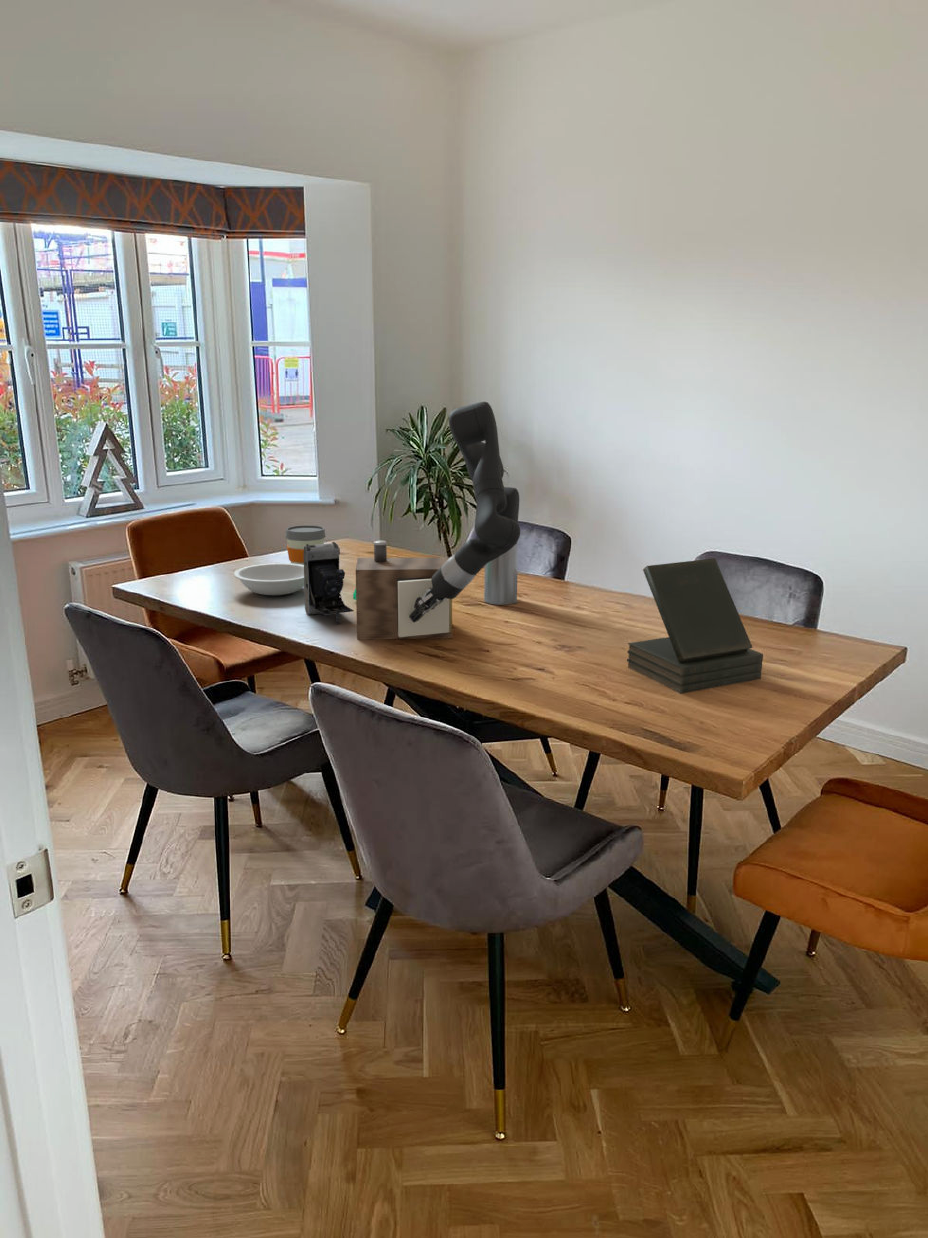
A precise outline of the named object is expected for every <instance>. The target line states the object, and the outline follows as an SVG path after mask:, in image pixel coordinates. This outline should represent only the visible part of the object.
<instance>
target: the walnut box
mask: <svg viewBox="0 0 928 1238" xmlns="http://www.w3.org/2000/svg"><path fill="white" fill-rule="evenodd" d="M449 558H450V556H442V557H441V556H439V557H438V556H435V557H434V556H430V557H429V556H427V557H426V556H425V557H423V556H421V557H419V556H418V557H410V556H409V557H407V556H406V557H387V561H386V562H375V561H374V557H357V560H356V561H357V562H356V565H355V589H356V600H355V601H356V606H355V607H356V639H357V640H404V639H406V640H407V639H411V640H413V639H415V640H416V639H417V640H418V639H422V640H423V639H453V631H452V632H448V633H438V634H427V635H417V636H407V637H399V636H398V581H407V580H420V579H432V576H433V575H434V574H435V573H436V572H437V571H438V570H439V569H440V568H441V566H442V565H443V564H444V563H445V562H446V561H447V560H448V559H449Z"/></svg>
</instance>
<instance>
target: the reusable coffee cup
mask: <svg viewBox="0 0 928 1238" xmlns="http://www.w3.org/2000/svg"><path fill="white" fill-rule="evenodd" d="M325 538H326V532H325V527H324V526H320V525H311V524H310V525H307V524H303V525H302V524H300V525H293V526H289V527H288V526H287V527H286V529H285V539H286V542H287V545H286V548H287V549H286V550H287V555H288V561H289V562H290V563H292V564H301V565H304V556H303V554H304V546H306V544H308V545H319V544H325Z"/></svg>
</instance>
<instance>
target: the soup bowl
mask: <svg viewBox="0 0 928 1238" xmlns="http://www.w3.org/2000/svg"><path fill="white" fill-rule="evenodd" d="M233 577H234V578H235V579H238V580H240V582H241V583H242V585H243V586H244V587H245V588H247V589H248V590H249V591H251V592H253V593H255V594H259V595H264V596H283V595H288V594H292V593H295V592H297V591H300V590H302V588H304V565H301V564H292V563H291V562H290V563H287V562H286V563H285V562H273V563H272V562H271V563H261V564H254V565H248V566H244V567H241V568H238V569H237V570H235V571H234V572H233Z"/></svg>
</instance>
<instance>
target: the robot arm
mask: <svg viewBox="0 0 928 1238" xmlns="http://www.w3.org/2000/svg"><path fill="white" fill-rule="evenodd" d="M448 425H449V430H450V433H451V435H452V438H453V439H454V442H455V444H456V445H457V448H458V449H459V451H460V454H461V455H462V457H463V460H464V463H465V467H466V470H467V473H468V475H469V478H470V480H471V481H472V487H473V492H474V496H475V502H476V509H475V519H474V532H475V534H476V537H477V538H471V539H469V540H467V541H465V543H464V544H463V545H462V546H461V547H459V549H458V550H457V551H456V552H455V553H454V554H453V555H451V556H449V559H448V560H447V561H446V562H445V563H444V564H443V565H442V566H441V568H440V569H439V570H438V571H437V572H436V573H435V574H434V575H433V576H432V579H431V582H432V588H431V587H430V588H429V589H428V590H427V591H426V593H425V595H424V596H423V597H422V598H421V597H418V598H417V599H416V602H415V605H414V608H415V610H414V611H413V612H412V613H411V614H410V615H409V617H410V619H411V620H412V621H413V622H417V621H418V620H419V619H420V618H421V617H422V616H423V615H424V614H425V613H427V612H429V611H430V610H432V609H434V608H435V607H437V606H438V605H439V604H440V603H442V602H443V601H444V600H445V599H452V600H453V599H455V598H456V597H457V596H458V595H459V594H460V593H461V592H462V591H464V589H465V588H466V587H467V586H468V585H469V584H471V582H472V581H473V579H474V578H475V577H476V575H478V574H479V572H480V571H481V570H482V569H483V568H484V580H483V581H484V584H483V585H484V588H483V589H484V592H483V595H484V596H483V597H484V599H483V600H484V602H485V604H486V603H487V604H490V605H496V606H497V605H501V606H502V605H511V604H518V570H517V568H518V566H517V563H518V561H517V560H518V558H517V557H518V541H519V539H520V535H521V527H520V524H519V513H520V493H519V490H518V489H517V488H516V487H509V486H505V485H504V482H503V477H504V475H505V474H504V472H505V469H504V468H505V467H504V464H503V462H502V458H501V456H500V455H501V454H500V444H499V435H498V426H497V421H496V417H495V414H494V410H493V408H492V406H491V404H490V403H489V402H487V401H480V402H476V403H472V404H468V405H464V406H460V407H458V408H455V409H453V410H452V411H450V413H449V415H448Z"/></svg>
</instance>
